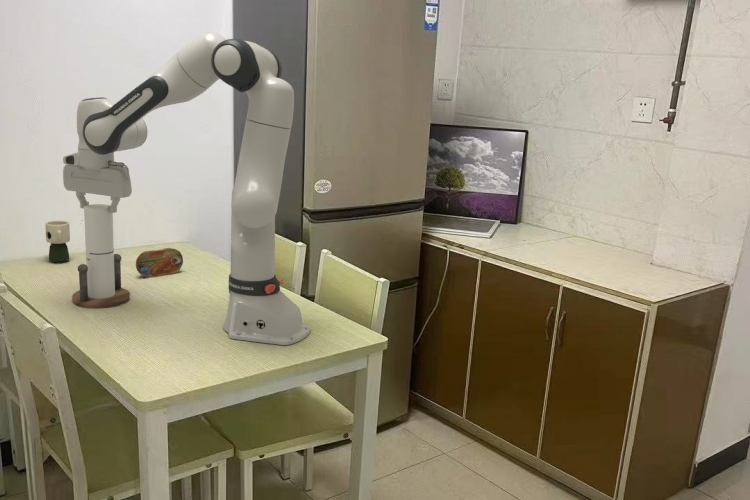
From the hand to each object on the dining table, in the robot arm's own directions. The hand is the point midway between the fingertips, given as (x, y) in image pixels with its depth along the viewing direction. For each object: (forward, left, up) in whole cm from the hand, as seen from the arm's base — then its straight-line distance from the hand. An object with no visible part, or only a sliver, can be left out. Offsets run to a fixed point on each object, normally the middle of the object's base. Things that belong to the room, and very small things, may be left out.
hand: (98, 210), depth 187 cm
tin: (+2, -28, -26) cm, 38 cm away
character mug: (+38, -23, -26) cm, 51 cm away
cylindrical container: (0, 0, -24) cm, 24 cm away
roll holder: (0, 0, -26) cm, 26 cm away
